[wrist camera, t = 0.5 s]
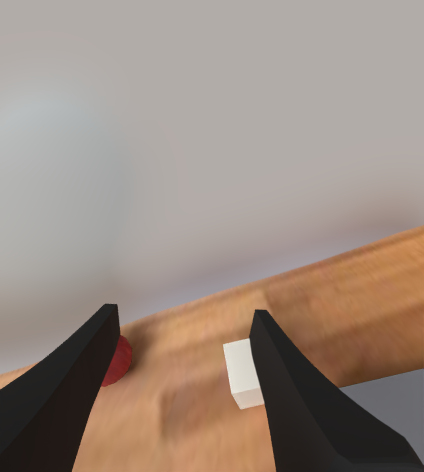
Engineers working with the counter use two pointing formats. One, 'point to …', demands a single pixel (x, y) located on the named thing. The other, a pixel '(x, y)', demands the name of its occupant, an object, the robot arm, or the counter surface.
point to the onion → (118, 362)
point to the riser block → (395, 404)
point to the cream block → (242, 374)
